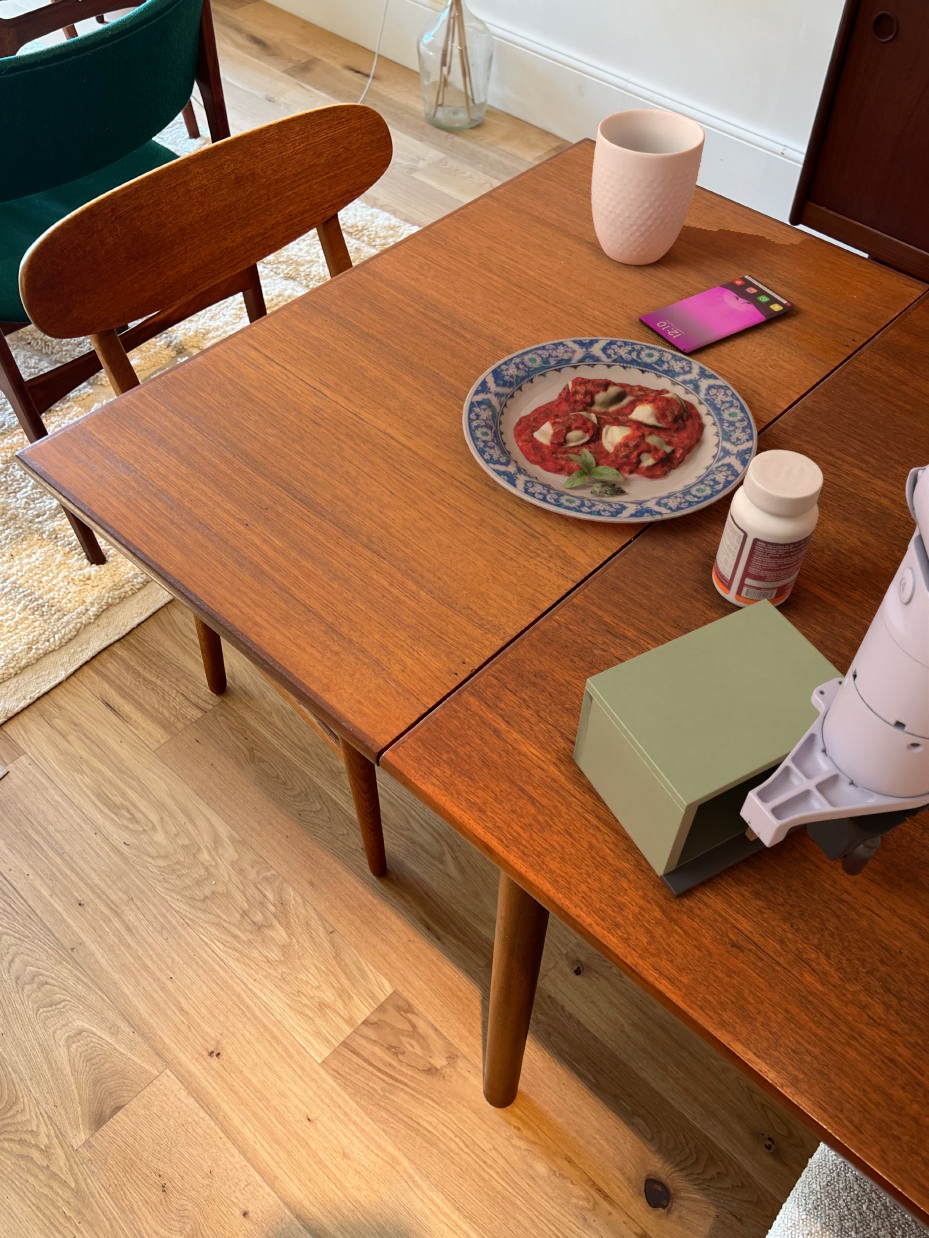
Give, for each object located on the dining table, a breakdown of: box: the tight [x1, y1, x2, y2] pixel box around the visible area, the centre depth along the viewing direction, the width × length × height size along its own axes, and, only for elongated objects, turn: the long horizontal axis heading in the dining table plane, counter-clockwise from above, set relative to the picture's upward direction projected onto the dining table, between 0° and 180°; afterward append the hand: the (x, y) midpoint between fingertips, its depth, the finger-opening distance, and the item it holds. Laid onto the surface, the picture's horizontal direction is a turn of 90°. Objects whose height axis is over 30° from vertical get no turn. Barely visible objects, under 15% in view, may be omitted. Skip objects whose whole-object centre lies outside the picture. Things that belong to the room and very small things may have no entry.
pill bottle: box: [712, 449, 824, 609], centre depth 73 cm, size 6×6×11 cm
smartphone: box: [638, 274, 795, 355], centre depth 102 cm, size 7×15×1 cm, turn 122°
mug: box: [590, 108, 706, 266], centre depth 107 cm, size 15×11×13 cm
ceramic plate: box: [461, 336, 758, 524], centre depth 88 cm, size 26×26×3 cm
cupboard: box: [572, 599, 845, 898], centre depth 63 cm, size 11×14×9 cm
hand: (828, 840), depth 53 cm, fingers closed
